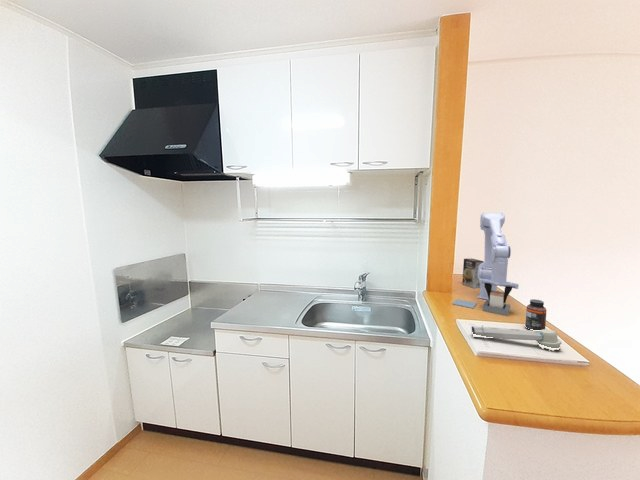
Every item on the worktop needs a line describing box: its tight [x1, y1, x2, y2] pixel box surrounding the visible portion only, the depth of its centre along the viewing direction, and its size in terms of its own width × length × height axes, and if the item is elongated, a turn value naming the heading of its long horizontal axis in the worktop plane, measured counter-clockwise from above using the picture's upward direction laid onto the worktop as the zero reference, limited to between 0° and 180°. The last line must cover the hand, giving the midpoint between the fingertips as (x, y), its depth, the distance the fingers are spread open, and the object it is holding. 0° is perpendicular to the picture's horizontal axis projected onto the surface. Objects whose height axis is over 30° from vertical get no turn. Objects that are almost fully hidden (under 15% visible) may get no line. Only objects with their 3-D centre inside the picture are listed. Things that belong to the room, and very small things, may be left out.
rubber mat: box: [451, 298, 478, 309], centre depth 130 cm, size 9×9×1 cm
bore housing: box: [482, 299, 511, 317], centre depth 121 cm, size 10×10×2 cm
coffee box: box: [461, 258, 485, 289], centre depth 160 cm, size 9×6×16 cm
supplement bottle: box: [524, 298, 547, 330], centre depth 101 cm, size 6×6×11 cm
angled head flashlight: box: [471, 325, 562, 348], centre depth 92 cm, size 5×7×25 cm
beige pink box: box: [489, 290, 505, 309], centre depth 121 cm, size 5×5×8 cm
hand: (497, 301), depth 121 cm, fingers closed on beige pink box, 5 cm apart
